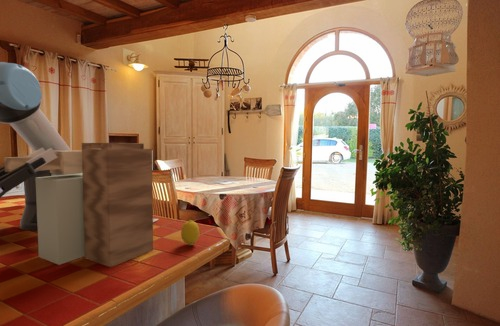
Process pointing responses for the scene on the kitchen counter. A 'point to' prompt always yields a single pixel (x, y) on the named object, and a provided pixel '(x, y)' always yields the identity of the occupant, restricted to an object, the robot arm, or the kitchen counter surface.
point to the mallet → (51, 162)
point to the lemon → (190, 232)
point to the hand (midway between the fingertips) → (49, 152)
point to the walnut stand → (117, 201)
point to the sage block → (60, 217)
